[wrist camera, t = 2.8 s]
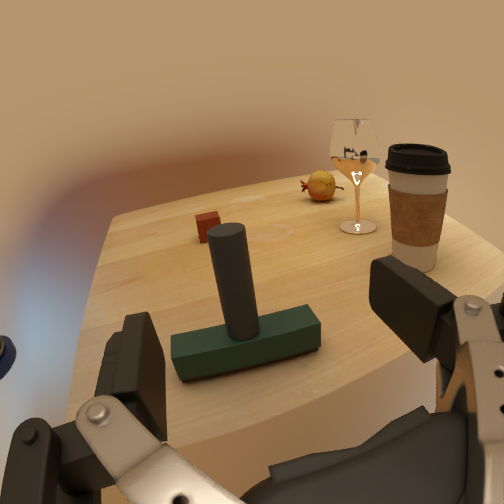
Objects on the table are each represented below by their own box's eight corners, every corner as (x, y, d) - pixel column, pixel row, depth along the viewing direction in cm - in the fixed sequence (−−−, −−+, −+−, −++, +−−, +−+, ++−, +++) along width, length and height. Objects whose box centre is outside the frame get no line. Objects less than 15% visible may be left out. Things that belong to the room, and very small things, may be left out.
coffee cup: (435, 249, 39) (440, 144, 33) (449, 278, 32) (460, 153, 26) (381, 248, 42) (381, 142, 36) (385, 277, 34) (388, 149, 28)
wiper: (182, 387, 23) (135, 255, 18) (180, 363, 26) (141, 239, 21) (321, 353, 25) (317, 218, 20) (308, 333, 28) (301, 207, 23)
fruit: (345, 171, 67) (303, 171, 71) (341, 169, 61) (295, 169, 65) (345, 201, 68) (303, 199, 72) (341, 202, 62) (295, 200, 66)
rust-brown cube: (200, 243, 53) (196, 221, 51) (199, 235, 56) (195, 215, 55) (223, 238, 53) (219, 216, 52) (220, 231, 57) (216, 210, 55)
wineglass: (324, 227, 52) (316, 120, 45) (358, 216, 55) (352, 119, 48) (357, 240, 45) (352, 120, 38) (391, 227, 48) (388, 119, 41)
